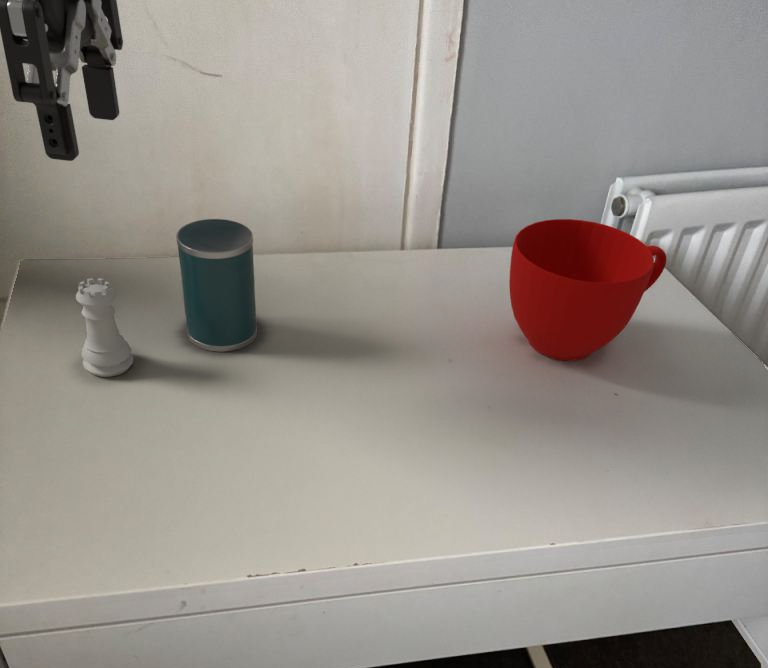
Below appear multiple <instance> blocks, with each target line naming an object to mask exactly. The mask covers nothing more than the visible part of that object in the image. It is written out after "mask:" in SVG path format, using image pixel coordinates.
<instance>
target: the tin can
mask: <svg viewBox="0 0 768 668" xmlns="http://www.w3.org/2000/svg"><path fill="white" fill-rule="evenodd" d="M175 236H176V244H177V250H178V259H179V268H180V277H181V285H182V294H183V303H184V305H183V306H184V312H185V313H184V314H185V321H186V336H187V339H188V340H189V341H190V343H191V344H193V346H195V347H197V348H198V349H199V348H200V349H202V350H205V351H209V352H221V353H222V352H232V351H237V350H241V349H244V348H245V347H247V346H249V345H251V344H252V343H253V342H254V341H255V339H256V338H257V336H258V325H257V310H256V309H257V308H256V287H255V286H256V285H255V266H254V265H255V264H254V235H253V232H252V230H251V229H250V228H249V227H248V226H246V225H245V224H243V223H241V222H238V221H235V220H231V219H223V218H205V219H198V220H195V221H192V222H189V223H187V224H185V225H183V226H181V227H180V228H179V229H178V231H177V232H176V235H175Z"/></svg>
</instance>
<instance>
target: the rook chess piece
mask: <svg viewBox="0 0 768 668" xmlns="http://www.w3.org/2000/svg"><path fill="white" fill-rule="evenodd" d="M86 282H87V283H86ZM86 282H85V281H84V280H81V281H80V282H79V283H78V286H77V288H78V291H77V292H76V294H75V299H76V301H77V302H78V303H79V304H80V305H81V306H82V310H81V315H82V317H84V319H85V328H86V338H85V340H84V342H83V343H84V344H83V346H82V349H81V355H80V356H81V357H82V359H83V360H82V365H83V368H84V369H85V370H86V371H88V372H89V373H90V374H93V375H94V376H97V377H101V378H112V377H115V376H119V375H122V374H123V373H125V372H127V371H128V369H130V368H131V366H132V365H133V363H134V355H133V354H132V348H131V346H130V344H129V342H128V341H127V340H125V338H124V336H123V334H121V333H120V330H119V327H118V325H117V322H116V317H115V313H116V308H115V306H114V305H112V303H113V301H114V299H115V297H116V292H115V290H114V289H113V288H112V287H110V283H109V281H108V280H107V281H105V279H104V278H102V277H101V278H100V277H98V278H97V282H94V278H93V277H91V278H87V279H86Z"/></svg>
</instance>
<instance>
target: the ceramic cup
mask: <svg viewBox="0 0 768 668" xmlns="http://www.w3.org/2000/svg"><path fill="white" fill-rule="evenodd" d="M654 256H655V257H654ZM666 264H667V253H666V252H665V251H664V249H662V248H661V247H660V246H657V245H646V244H645V243H644V242H642V241H641V240H640V239H639V238H637V237H635V236H634V235H632V234H630V233H628V232H625V231H624V230H621V229H619V228H616V227H613V226H611V225H607V224H603V223H599V222H595V221H589V220H583V219H573V218H572V219H571V218H554V219H545V220H541V221H537V222H534V223H531V224H529V225H526V226H525V227H523V228H522V229H520V230H519V231H518V232H517V234H516V235H515V237H514V240H513V244H512V250H511V256H510V265H509V279H508V280H509V281H508V282H509V285H508V286H509V287H508V288H509V298H510V304H511V310H512V313H513V316H514V319H515V321H516V323H517V325H518V327H519V329H520V332H522V334H523V335H524V337H525V338H526V340H528V344H529V345H530V346H531V348H532V349H534V350H535V352H537V353H539V354H541V355H543V356H546V357H547V358H550V359H554V360H559V361H579V360H583V359H586V358H588V357H589V356H591V355H592V354H594V353H595V352H597V351H599V350H601V349H603V348H604V347H606V346H607V345H608V344H610V343H611V342H612V341H613V340H614V339H616V338H617V336H619V335H620V333H622V332H623V330H624V329H625V328H626V327H627V326H628V324H629V322H630V321H631V320H632V318H633V317H634V314H635V312H636V310H637V308H638V306H639V304H640V302H641V301H642V298H643V297H644V293H645V292H646V291H648V290H649V289H650V288H652V286H653V285H654V284H655V283H656V282H657V281H658V279H660V277H661V275H662V274H663V272H664V270H665V268H666Z"/></svg>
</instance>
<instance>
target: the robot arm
mask: <svg viewBox="0 0 768 668" xmlns="http://www.w3.org/2000/svg"><path fill="white" fill-rule="evenodd" d="M0 36H1V42H2V45H3V52H4V57H5V62H6V66H7V71H8V76H9V77H8V78H9V81H10V87H11V91H12V96H13V99H14V100H15V101H16V102H19V103H29V104H33V105H34V107H35V109H36V115H37V119H38V125H39V128H40V133H41V138H42V143H43V148H44V153H45V154H46V156H47V157H48V158H49V159H51V160H58V161H68V162H73V161H75V159H77V158H78V157H79V154H80V149H79V144H78V139H77V134H76V128H75V123H74V122H75V121H74V116H73V112H72V111H73V110H72V106H71V103H69V102H70V101H69V100H70V88H71V87H70V85H71V76H72V75H73V74H75V73H76V72H77V71H78V70H79V63H80V62H81V63H83V65H82V66H81V71H82V79H83V83H84V90H85V94H86V102H87V107H88V112H89V114H90V116H91V117H92V118H94V119H98V120H104V121H105V120H106V121H114V120H116V119H117V118H118V117H119V116H120V105H119V99H118V93H117V86H116V80H115V79H116V78H115V72H114V66H116V63H117V53H116V50H117V51H121V50H123V46H124V38H123V32H122V27H121V20H120V14H119V8H118V1H117V0H0ZM24 64H25V65H27V71H26V73H27V74H25V69H24ZM54 72H55V78H54Z"/></svg>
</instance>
